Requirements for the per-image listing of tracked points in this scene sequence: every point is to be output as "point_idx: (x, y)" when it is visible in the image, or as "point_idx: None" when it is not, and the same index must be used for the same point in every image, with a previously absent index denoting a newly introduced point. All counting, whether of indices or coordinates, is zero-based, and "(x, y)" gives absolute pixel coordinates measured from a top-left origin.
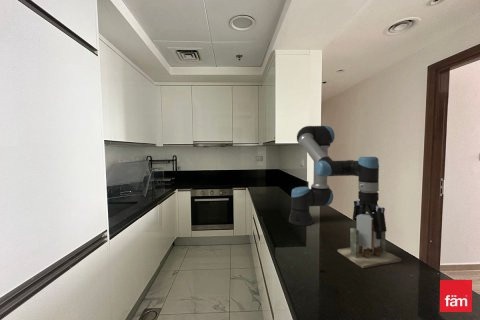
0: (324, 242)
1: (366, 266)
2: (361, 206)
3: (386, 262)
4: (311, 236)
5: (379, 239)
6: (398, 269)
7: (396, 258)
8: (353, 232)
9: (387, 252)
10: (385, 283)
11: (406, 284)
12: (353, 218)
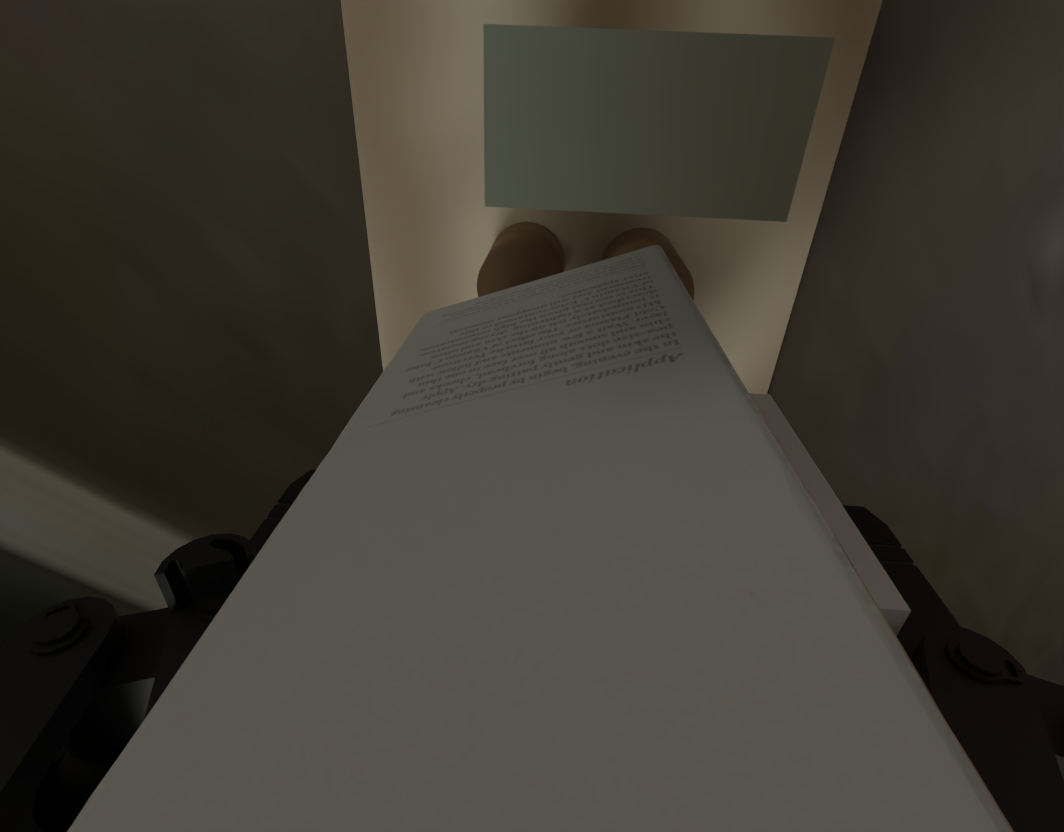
0: (206, 510)
1: None
2: None
3: (791, 296)
4: (58, 533)
5: (810, 474)
6: (918, 266)
7: (832, 69)
8: None
9: (652, 7)
10: (924, 557)
11: (1053, 438)
12: (101, 775)
